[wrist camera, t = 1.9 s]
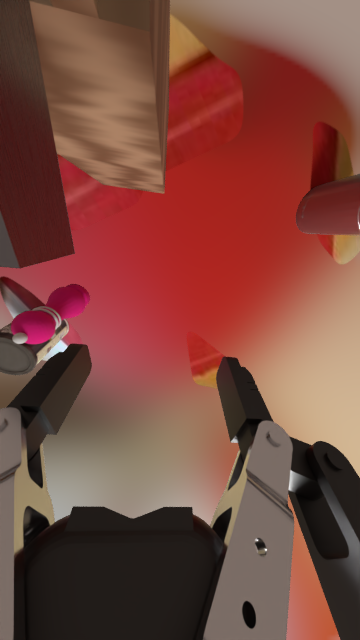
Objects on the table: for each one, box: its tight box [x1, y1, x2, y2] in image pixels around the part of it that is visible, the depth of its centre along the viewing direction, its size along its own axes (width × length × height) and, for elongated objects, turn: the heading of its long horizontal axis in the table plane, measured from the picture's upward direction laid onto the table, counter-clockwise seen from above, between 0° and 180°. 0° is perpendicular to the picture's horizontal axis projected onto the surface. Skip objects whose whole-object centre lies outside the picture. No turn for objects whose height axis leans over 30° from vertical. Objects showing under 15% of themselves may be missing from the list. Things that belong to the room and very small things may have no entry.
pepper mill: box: [11, 284, 90, 344], centre depth 34 cm, size 7×7×20 cm
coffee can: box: [0, 308, 69, 375], centre depth 40 cm, size 10×10×14 cm
